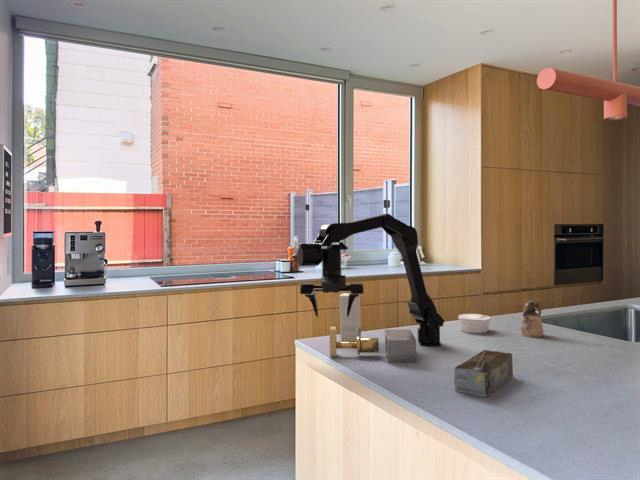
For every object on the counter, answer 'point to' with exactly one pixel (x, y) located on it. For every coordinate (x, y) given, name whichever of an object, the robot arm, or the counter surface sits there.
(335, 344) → the brass door handle
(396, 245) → the robot arm
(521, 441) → the counter surface
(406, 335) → the housing
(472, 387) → the beverage carton
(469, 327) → the ramekin
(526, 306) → the figurine
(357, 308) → the skincare box
